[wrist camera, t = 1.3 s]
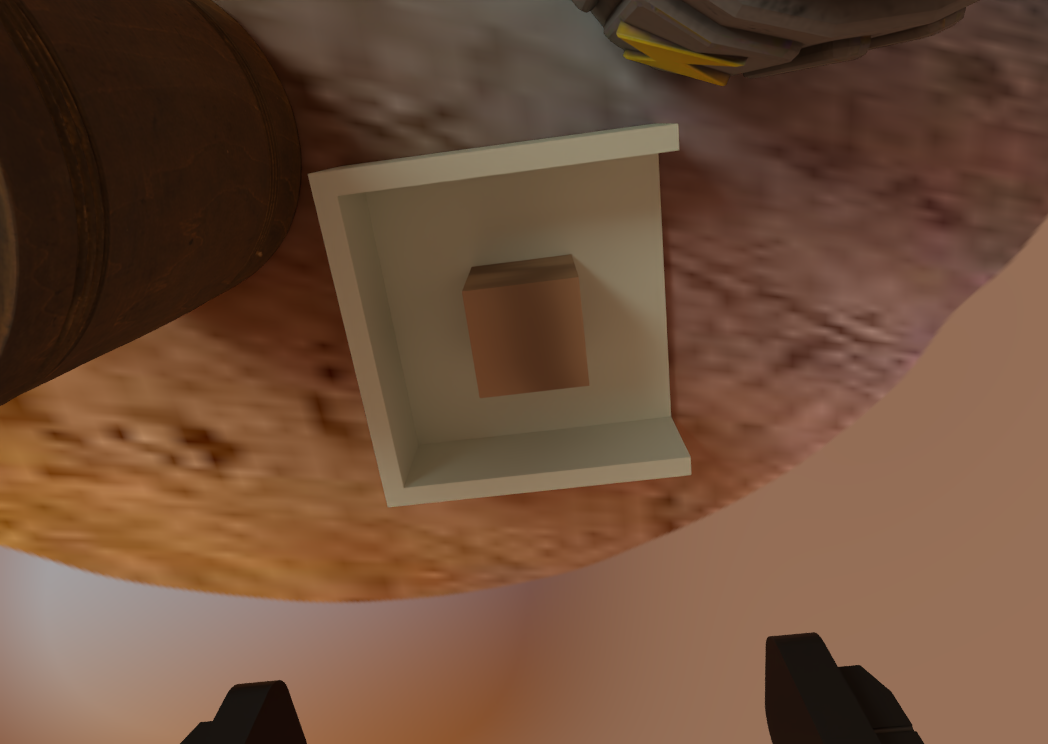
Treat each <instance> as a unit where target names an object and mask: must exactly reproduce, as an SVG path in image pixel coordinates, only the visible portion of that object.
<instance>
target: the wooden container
mask: <svg viewBox="0 0 1048 744" xmlns="http://www.w3.org/2000/svg"><path fill="white" fill-rule="evenodd" d="M300 182H301V152H300V144H299V138H298V133H297V128H296V123H295V119H294V115H293V112H292V109H291V106H290V103H289V101H288V98H287V96H286V93H285V91H284V89H283V87H282V85H281V83H280V81H279V79H278V77H277V75H276V73H275V72H274V70H273V68H272V66H271V65H270V63H269V61H268V60H267V58H266V57H265V55H264V54H263V53H262V51H261V50H260V48H259V47H258V46H257V44H256V43H255V42H254V41H253V39H252V38H251V37H250V36H249V34H248V33H247V32H246V31H245V30H244V29H243V28H242V27H241V26H240V25H239V24H238V23H237V22H236V21H235V20H234V19H233V18H232V17H231V16H230V15H229V14H227V13H226V12H225V11H224V10H223V9H221V8H220V7H219V6H218V5H217V4H215V3H214V2H213V1H211V0H0V406H1V405H3V404H5V403H7V402H8V401H10V400H11V399H13V398H15V397H17V396H18V395H20V394H22V393H24V392H27V391H29V390H31V389H33V388H35V387H37V386H39V385H41V384H43V383H46V382H48V381H50V380H52V379H54V378H56V377H58V376H60V375H62V374H64V373H66V372H68V371H70V370H72V369H74V368H76V367H78V366H80V365H82V364H84V363H86V362H88V361H90V360H92V359H95V358H97V357H99V356H101V355H103V354H105V353H107V352H109V351H112V350H114V349H116V348H118V347H120V346H122V345H125V344H127V343H129V342H131V341H133V340H135V339H137V338H139V337H141V336H143V335H145V334H147V333H149V332H151V331H153V330H156V329H157V328H159V327H161V326H163V325H165V324H167V323H169V322H171V321H173V320H175V319H177V318H179V317H181V316H182V315H184V314H186V313H188V312H190V311H192V310H194V309H195V308H197V307H199V306H200V305H202V304H204V303H205V302H207V301H209V300H210V299H212V298H214V297H216V296H218V295H220V294H222V293H223V292H225V291H227V290H229V289H231V288H232V287H234V286H236V285H237V284H239V283H241V282H242V281H244V280H245V279H247V278H248V277H250V276H251V275H252V274H254V273H255V272H256V271H257V270H258V269H259V268H260V267H261V266H262V265H263V264H264V263H265V262H266V261H267V260H268V259H269V258H270V257H271V256H272V255H273V253H274V252H275V251H276V250H277V248H278V247H279V245H280V244H281V242H282V240H283V239H284V237H285V235H286V234H287V232H288V229H289V227H290V225H291V222H292V219H293V216H294V213H295V210H296V206H297V202H298V196H299V191H300Z"/></svg>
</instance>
